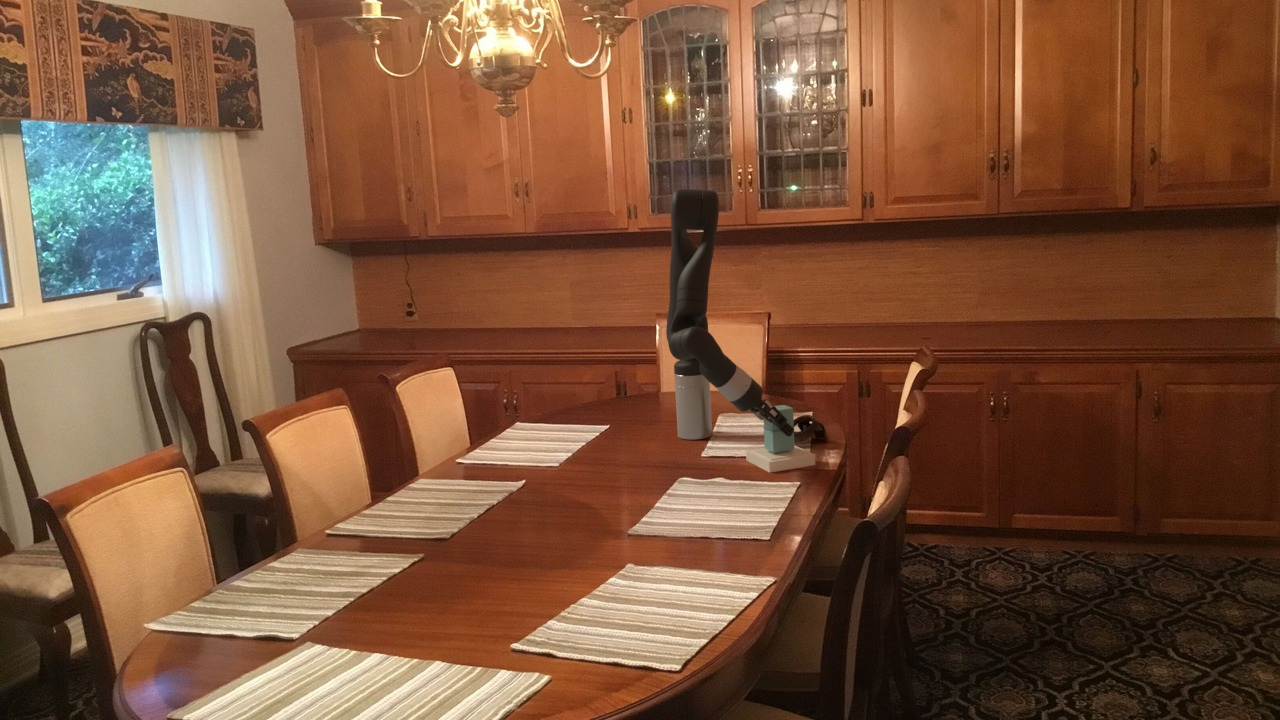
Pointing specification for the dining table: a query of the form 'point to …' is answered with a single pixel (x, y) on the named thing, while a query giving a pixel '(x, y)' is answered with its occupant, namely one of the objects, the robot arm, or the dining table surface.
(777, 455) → the display plinth
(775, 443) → the teal rectangular box
